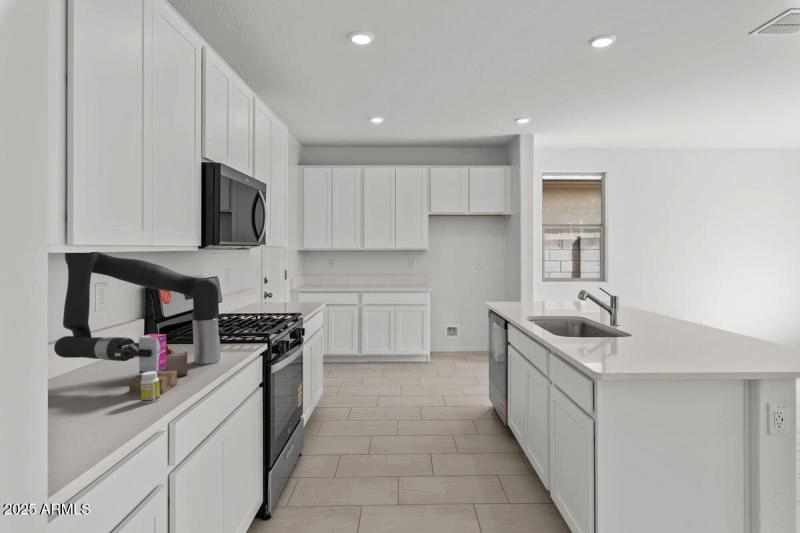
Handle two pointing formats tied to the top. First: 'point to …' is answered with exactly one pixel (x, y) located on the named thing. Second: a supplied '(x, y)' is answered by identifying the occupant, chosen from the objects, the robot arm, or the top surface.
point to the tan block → (165, 381)
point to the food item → (177, 362)
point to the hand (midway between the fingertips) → (159, 350)
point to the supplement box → (153, 353)
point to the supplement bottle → (150, 387)
